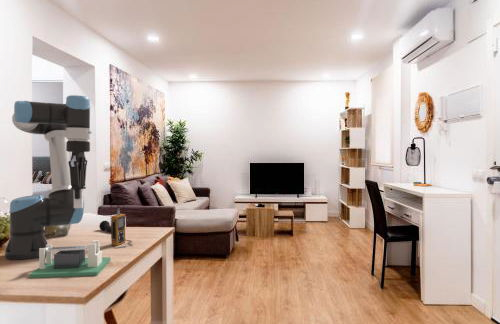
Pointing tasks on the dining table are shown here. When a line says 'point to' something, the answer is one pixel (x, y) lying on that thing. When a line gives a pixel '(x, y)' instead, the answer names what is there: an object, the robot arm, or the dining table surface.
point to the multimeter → (118, 228)
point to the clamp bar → (65, 248)
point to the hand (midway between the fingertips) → (78, 207)
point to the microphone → (105, 226)
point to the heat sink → (69, 259)
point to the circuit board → (88, 268)
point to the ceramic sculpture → (56, 230)
